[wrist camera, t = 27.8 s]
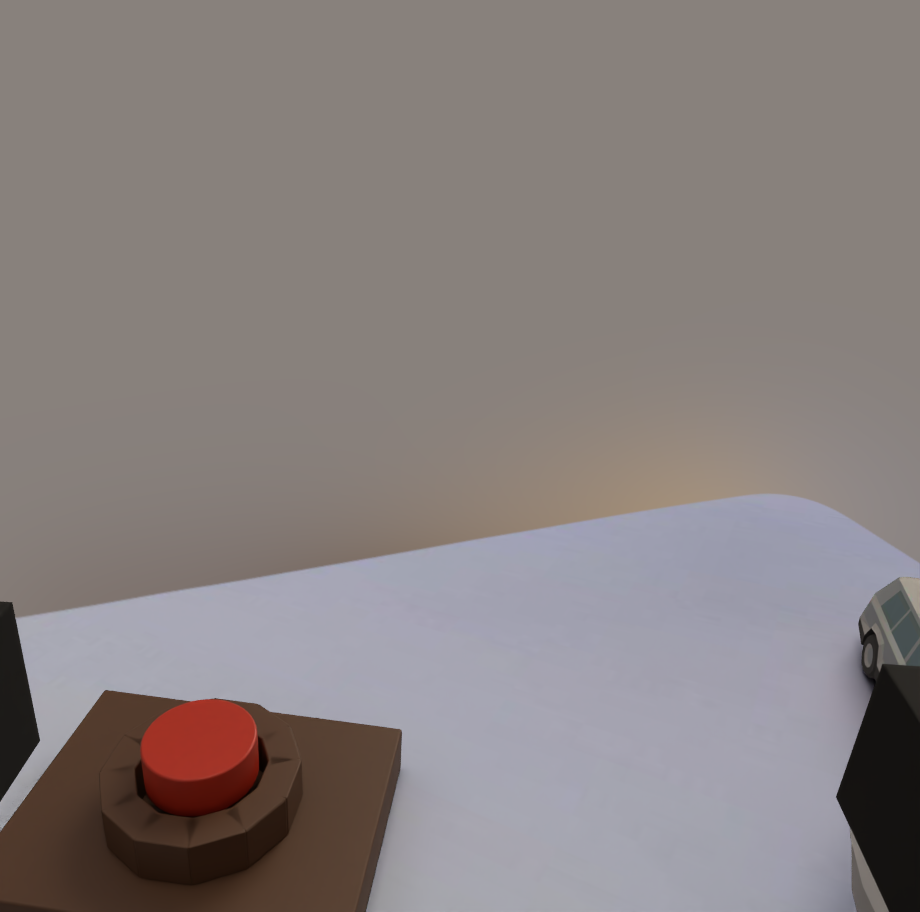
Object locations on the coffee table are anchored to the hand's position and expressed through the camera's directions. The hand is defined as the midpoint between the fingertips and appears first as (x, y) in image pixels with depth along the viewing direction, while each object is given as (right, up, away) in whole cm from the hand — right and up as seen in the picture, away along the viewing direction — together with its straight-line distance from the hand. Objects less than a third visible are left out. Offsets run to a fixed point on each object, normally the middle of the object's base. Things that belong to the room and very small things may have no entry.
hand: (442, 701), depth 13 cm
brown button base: (-9, -11, +19) cm, 24 cm away
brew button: (-9, -8, +18) cm, 21 cm away
